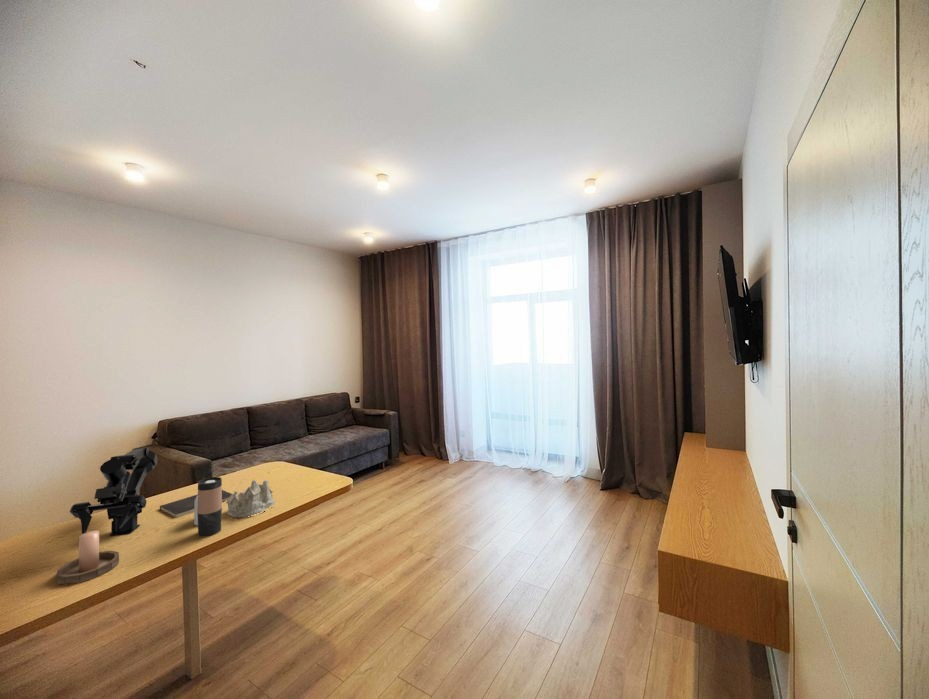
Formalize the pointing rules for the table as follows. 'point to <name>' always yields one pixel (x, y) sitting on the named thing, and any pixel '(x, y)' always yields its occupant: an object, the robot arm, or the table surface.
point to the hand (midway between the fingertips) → (101, 530)
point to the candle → (88, 551)
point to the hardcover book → (186, 505)
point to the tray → (72, 574)
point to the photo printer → (196, 511)
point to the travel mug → (209, 506)
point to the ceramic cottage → (250, 500)
